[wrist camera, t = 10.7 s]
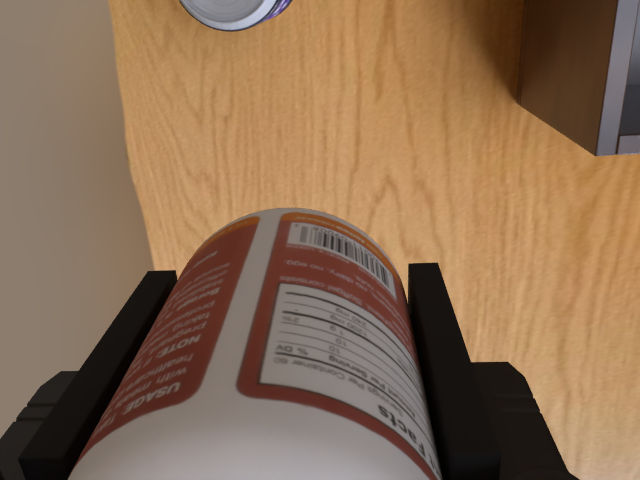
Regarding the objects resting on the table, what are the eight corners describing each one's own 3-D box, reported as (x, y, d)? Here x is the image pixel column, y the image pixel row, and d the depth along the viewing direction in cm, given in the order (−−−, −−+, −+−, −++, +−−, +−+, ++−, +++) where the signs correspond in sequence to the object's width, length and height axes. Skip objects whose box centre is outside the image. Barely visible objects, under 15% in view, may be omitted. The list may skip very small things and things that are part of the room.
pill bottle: (213, 402, 17) (16, 1011, 7) (156, 217, 14) (-283, 751, 4) (417, 381, 16) (529, 1024, 6) (394, 184, 14) (521, 724, 4)
